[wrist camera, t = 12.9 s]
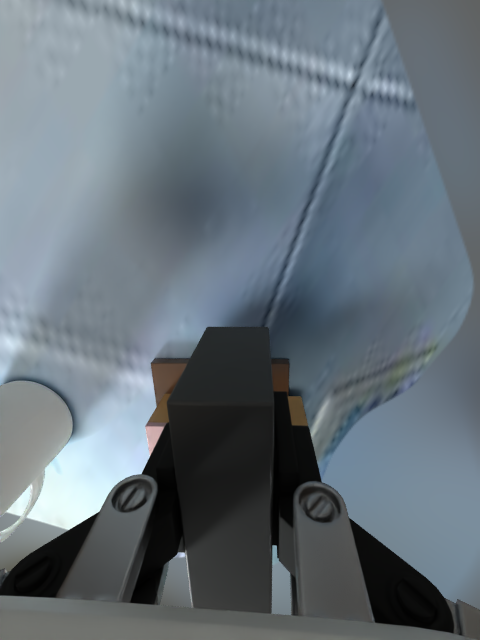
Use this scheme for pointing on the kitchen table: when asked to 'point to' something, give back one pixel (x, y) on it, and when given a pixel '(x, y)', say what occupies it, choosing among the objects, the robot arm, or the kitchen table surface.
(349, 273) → the kitchen table surface
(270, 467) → the dark block with blade
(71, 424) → the mug
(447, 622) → the robot arm
